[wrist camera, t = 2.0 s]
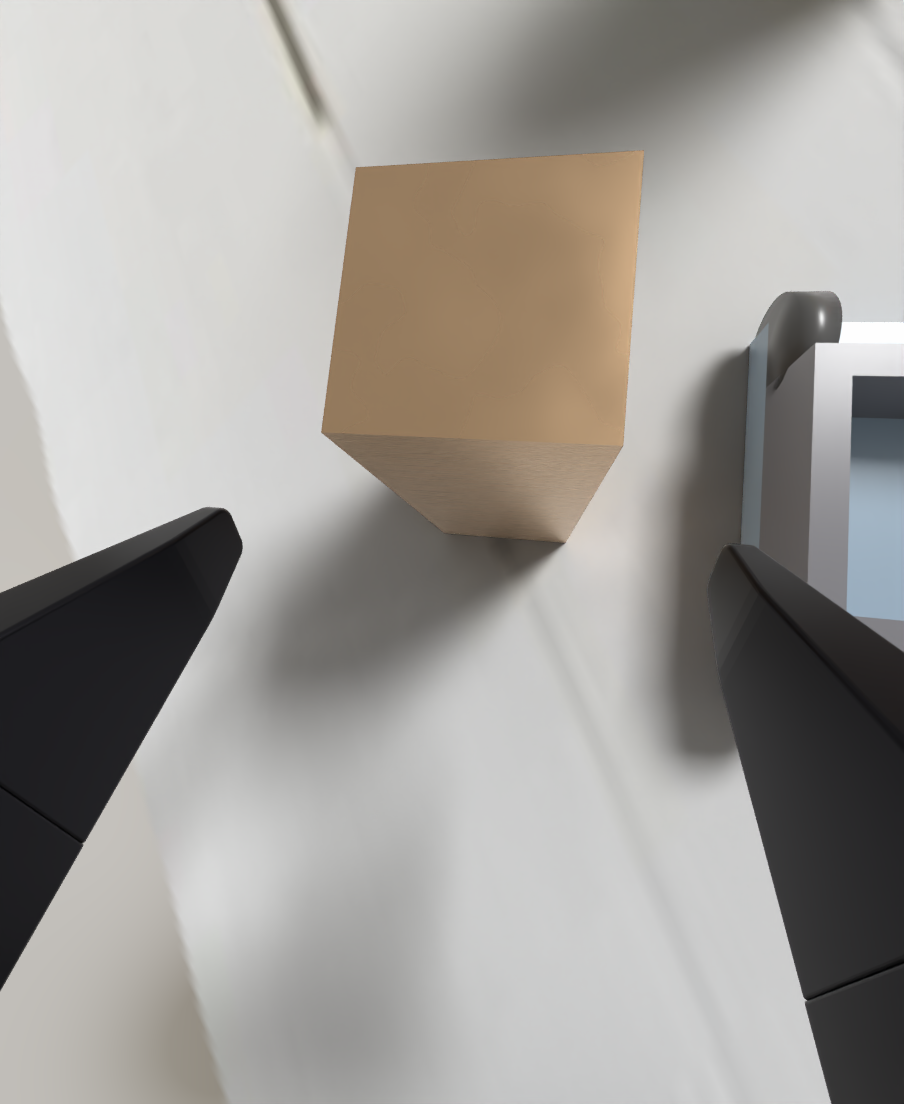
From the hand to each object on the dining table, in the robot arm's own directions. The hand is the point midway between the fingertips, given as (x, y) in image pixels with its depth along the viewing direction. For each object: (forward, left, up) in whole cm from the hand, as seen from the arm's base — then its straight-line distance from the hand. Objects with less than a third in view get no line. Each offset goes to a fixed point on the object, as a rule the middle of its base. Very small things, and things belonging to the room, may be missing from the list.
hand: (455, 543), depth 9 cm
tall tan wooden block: (+4, 0, -11) cm, 12 cm away
